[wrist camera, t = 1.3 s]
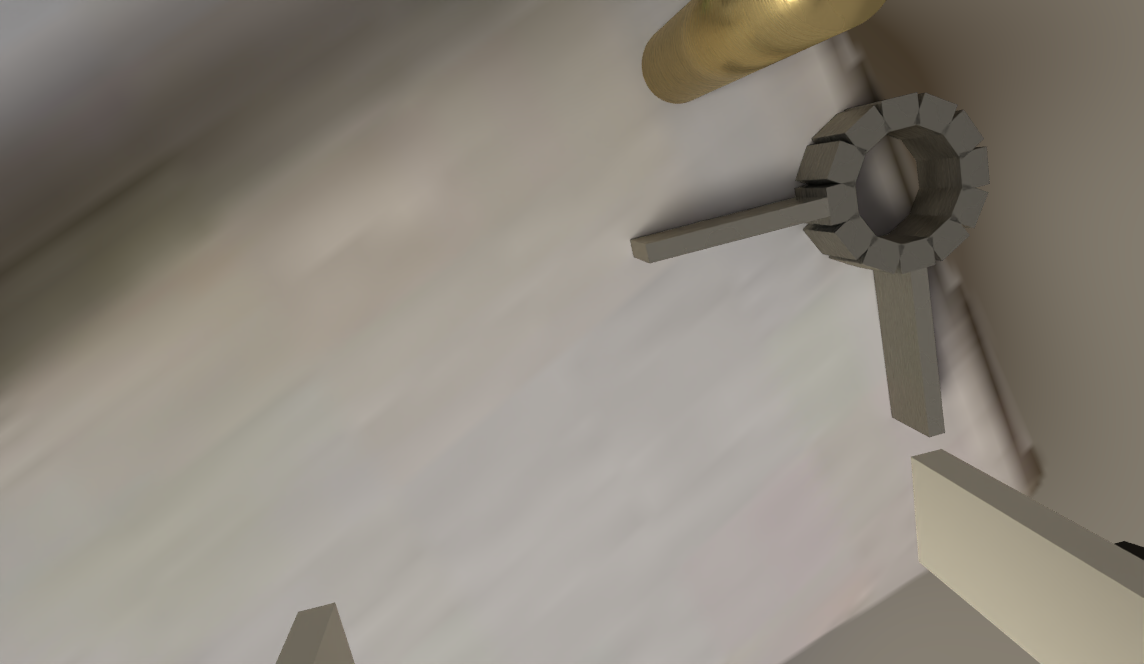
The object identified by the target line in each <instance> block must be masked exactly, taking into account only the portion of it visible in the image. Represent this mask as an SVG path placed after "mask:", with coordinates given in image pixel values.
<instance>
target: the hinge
mask: <svg viewBox="0 0 1144 664" xmlns="http://www.w3.org/2000/svg"><path fill="white" fill-rule="evenodd" d="M956 108H957V104H954V103H951V102H949V101H946V100H944V99H941V98H938V97H936V96H933V95H930V94H927V93H922V94H917V92H916V93H912V94H908V95H904V96H899V97H895V98H891V99H887V100H882V101H878V102H874V103H870V104H866V105H862V106H858V107H854V108H850V109H846V110H844V112H843V113H838V114H837V115H836V116H834V117H833V118H832V119H831V120H830V121H829V122H828V123H827V124H826V125H825V126H824V127H823V128H822V129H821V130H820V131H819V132H818V133H817V134H816V135H815V136H814V137H813V138H812V140H813V142H814V143H815V144H816V145H809V146H807V147H806V150H805V153H804V156H803V159H802V162H801V165H800V168H799V171H798V174H797V177H796V180H795V181H798V182H801V183H804V184H807V185H806V186H802V187H798V188H794V189H795V195H796V197H794V198H790V199H787V200H783V201H779V202H775V203H771V204H767V205H763V206H759V207H756V208H752V209H748V210H744V211H740V212H736V213H732V214H728V215H725V216H721V217H717V218H713V219H709V220H705V221H701V222H697V223H694V224H690V225H686V226H682V227H678V228H674V229H670V230H666V231H662V232H659V233H655V234H651V235H647V236H643V237H639V238H635V239H631V240H630V242H631V247H632V251H633V256H634V257H635V258H637V259H640V260H642V261H645V262H647V263H653V262H657V261H661V260H664V259H668V258H672V257H676V256H680V255H683V254H687V253H691V252H695V251H699V250H703V249H706V248H710V247H714V246H718V245H722V244H725V243H729V242H733V241H737V240H741V239H745V238H748V237H752V236H756V235H760V234H764V233H768V232H771V231H775V230H779V229H783V228H787V227H790V226H794V225H798V224H802V223H809V224H808V225H807V226H806V227H805V228H804V229H803V231H804V232H805V233H806V234H807V235H808V237H809V238H810V239H811V240H812V242H813V243H814V244H815V245H816V246H817V248H818V249H819V250H820V251H821V253H822V254H825V255H830V256H829V258H830V259H833V260H836V261H840V262H843V263H846V264H849V265H853V266H856V267H860V268H865V269H871V270H873V272H874V280H875V288H876V296H877V304H878V311H879V319H880V327H881V335H882V342H883V350H884V358H885V366H886V374H887V381H888V389H889V397H890V405H891V413H892V418H894V419H896V420H898V421H900V422H902V423H904V424H905V425H907V426H909V427H911V428H913V429H915V430H917V431H918V432H920V433H922V434H924V435H926V436H928V437H932V436H935V435H939V434H942V433H945V428H944V419H943V410H942V401H941V391H940V382H939V373H938V364H937V354H936V345H935V336H934V327H933V317H932V308H931V299H930V290H929V281H928V271H927V267H930V266H933V265H935V260H940V261H943V260H944V259H945V258H946V257H947V256H948V255H949V254H950V253H951V252H952V251H953V250H954V249H956V248H957V247H958V246H959V245H960V244H961V243H962V242H963V241H964V240H965V239H966V238H967V237H968V236H969V234H968V233H967V231H966V230H965V228H975V225H976V223H977V220H978V217H979V215H980V212H981V210H982V207H983V205H984V202H985V200H986V197H987V194H988V192H986V191H983V190H980V189H977V188H976V187H979V186H983V185H987V184H990V183H989V170H988V158H987V147H976V146H977V145H978V144H979V142H981V141H982V140H983V139H984V138H983V137H982V135H981V134H980V133H979V131H978V130H977V128H976V127H975V125H974V124H973V122H972V121H971V119H970V118H969V116H968V115H967V114H966V112H965V111H964V110H959V111H955V110H956ZM885 135H889V136H892V137H895V138H897V139H900V140H902V142H903V143H904V145H905V146H906V147H907V149H908V150H909V151H910V153H911V154H912V155H913V157H914V158H915V159H916V162H917V171H918V180H919V190H918V193H917V196H916V198H915V201H914V204H913V206H912V209H911V212H910V214H909V216H907V217H906V218H905V219H904V220H903V221H902V222H901V223H900V224H899V225H898V226H897V227H896V228H895V229H894V230H893V231H892V232H891V233H890V234H886V235H882V236H879V237H877V236H876V235H875V234H874V233H873V232H872V230H871V229H870V228H869V227H868V225H867V224H866V223H865V221H864V220H863V219H862V218H861V216H860V215H859V211H858V203H857V195H856V188H855V183H856V180H857V177H858V174H859V172H860V169H861V166H862V163H863V160H864V158H865V155H866V153H867V152H868V151H869V150H870V149H871V148H872V147H873V146H875V145H876V144H877V143H878V142H879V141H880V140H881V139H882V138H883V137H884V136H885ZM975 147H976V148H975Z"/></svg>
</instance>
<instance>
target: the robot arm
mask: <svg viewBox="0 0 1144 664" xmlns="http://www.w3.org/2000/svg"><path fill="white" fill-rule="evenodd" d="M911 465H912V478H913V492H914V505H915V518H916V531H917V545H918V558H919V562H920V563H921V564H922V565H923V566H925V567H926V568H927V569H928V570H929V571H931V572H932V573H933V574H934V575H935V576H936V577H938V578H939V579H940V580H942V581H943V582H944V583H945V584H946V585H947V586H948V587H950V588H951V589H952V590H953V591H955V592H956V593H957V594H958V595H959V596H960V597H962V598H963V599H964V600H965V601H966V602H968V603H969V604H970V605H971V606H973V607H974V608H975V609H976V610H977V611H978V612H980V613H981V614H982V615H983V616H984V617H986V618H987V619H988V620H989V621H990V622H992V623H993V624H994V625H995V626H997V627H998V628H999V629H1000V630H1001V631H1003V633H1005V634H1006V635H1007V636H1008V637H1009V638H1011V639H1012V640H1013V641H1014V642H1015V643H1017V644H1018V645H1019V646H1020V647H1021V648H1023V649H1024V650H1025V651H1026V652H1028V653H1029V654H1030V655H1031V656H1032V657H1033V658H1035V659H1036V660H1037V661H1038V662H1039V663H1041V664H1144V547H1141V546H1138V545H1135V544H1132V543H1128V542H1125V541H1123V542H1119V543H1115V544H1113V543H1111V542H1109V541H1108V540H1106V539H1104V538H1102V537H1100V536H1099V535H1097V534H1095V533H1093V532H1091V531H1089V530H1088V529H1086V528H1084V527H1082V526H1080V525H1078V524H1077V523H1075V522H1073V521H1071V520H1069V519H1068V518H1066V517H1064V516H1062V515H1060V514H1059V513H1057V512H1055V511H1053V510H1051V509H1049V508H1048V507H1045V506H1044V505H1042V504H1040V503H1038V502H1036V501H1035V500H1033V499H1031V498H1029V497H1028V496H1026V495H1024V494H1022V493H1020V492H1019V491H1017V490H1015V489H1013V488H1011V487H1009V486H1008V485H1006V484H1004V483H1002V482H1000V481H999V480H997V479H995V478H993V477H991V476H990V475H988V474H986V473H984V472H982V471H980V470H979V469H977V468H975V467H973V466H971V465H970V464H968V463H966V462H964V461H962V460H960V459H959V458H957V457H955V456H953V455H951V454H950V453H948V452H946V451H944V450H942V449H940V450H936V451H932V452H928V453H924V454H920V455H916V456H912V457H911ZM276 664H355V663H354V660H353V657H352V654H351V651H350V648H349V644H348V641H347V638H346V635H345V632H344V629H343V626H342V623H341V619H340V616H339V613H338V610H337V607H336V604H335V603H332V604H328V605H324V606H320V607H316V608H312V609H308V610H304V611H300V612H298V614H297V616H296V618H295V621H294V623H293V625H292V628H291V630H290V632H289V634H288V637H287V639H286V641H285V644H284V646H283V648H282V651H281V653H280V655H279V657H278V660H277V662H276Z"/></svg>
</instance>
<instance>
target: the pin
mask: <svg viewBox="0 0 1144 664" xmlns="http://www.w3.org/2000/svg"><path fill="white" fill-rule="evenodd" d="M885 1H886V0H691V1H690V2H689V3H688V4H687V5H686V6H684V7H683V8H682V9H681V10H680V11H679V12H678V13H677V14H676V15H675V16H674V17H673V18H671V19H670V20H669V21H668V22H667V23H666V24H665V25H664V26H663V27H662V28H661V29H660V30H659V31H657V32H656V33H655V34H654V35H653V36H652V38H651V39H650V40H649V42H648V43H647V45H646V47H645V50H644V52H643V57H642V72H643V76H644V79H645V82H646V84H647V86H648V87H649V89H650V90H651V91H652V92H653V94H654V95H656V96H657V97H658V98H660V99H661V100H663V101H666V102H669V103H675V104H681V103H686V102H689V101H691V100H694V99H696V98H698V97H700V96H703V95H705V94H707V93H709V92H711V91H714V90H716V89H718V88H720V87H723V86H725V85H727V84H729V83H731V82H734V81H736V80H738V79H740V78H742V77H745V76H747V75H749V74H751V73H754V72H756V71H758V70H760V69H762V68H765V67H767V66H769V65H771V64H774V63H776V62H778V61H780V60H782V59H785V58H787V57H789V56H791V55H793V54H796V53H798V52H800V51H802V50H805V49H807V48H809V47H811V46H813V45H816V44H818V43H820V42H822V41H824V40H827V39H829V38H831V37H833V36H836V35H838V34H840V33H842V32H844V31H847V30H849V29H851V28H853V27H855V26H858V25H860V24H862V23H863V22H865V21H866V20H868V19H869V18H870V17H872V16H873V15H874V14H875V13H876V12H877V11H878V10H879V9H880V8H881V7H882V5H883V4H884V3H885Z"/></svg>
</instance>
